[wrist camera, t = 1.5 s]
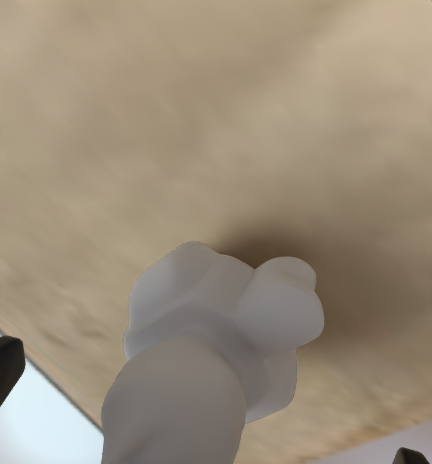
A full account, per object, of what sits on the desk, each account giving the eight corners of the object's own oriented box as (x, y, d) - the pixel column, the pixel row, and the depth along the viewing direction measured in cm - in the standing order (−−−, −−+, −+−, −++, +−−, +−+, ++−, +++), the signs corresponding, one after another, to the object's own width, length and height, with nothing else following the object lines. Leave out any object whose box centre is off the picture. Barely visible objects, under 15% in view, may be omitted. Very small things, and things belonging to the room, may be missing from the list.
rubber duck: (122, 277, 14) (-82, 482, 7) (266, 170, 12) (160, 336, 4) (215, 383, 15) (113, 664, 8) (372, 307, 12) (428, 639, 5)
